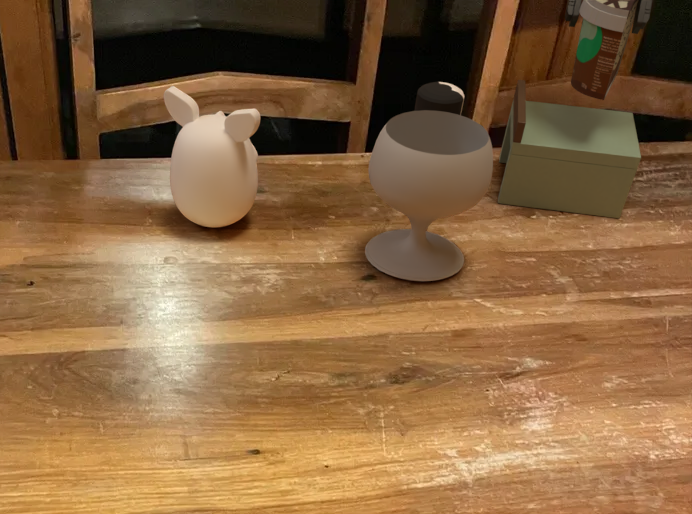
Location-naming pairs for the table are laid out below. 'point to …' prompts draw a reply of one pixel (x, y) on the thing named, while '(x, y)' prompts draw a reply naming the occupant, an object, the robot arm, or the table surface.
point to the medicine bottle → (440, 98)
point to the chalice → (426, 188)
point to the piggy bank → (212, 162)
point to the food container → (601, 44)
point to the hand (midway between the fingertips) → (605, 26)
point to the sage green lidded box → (568, 157)
